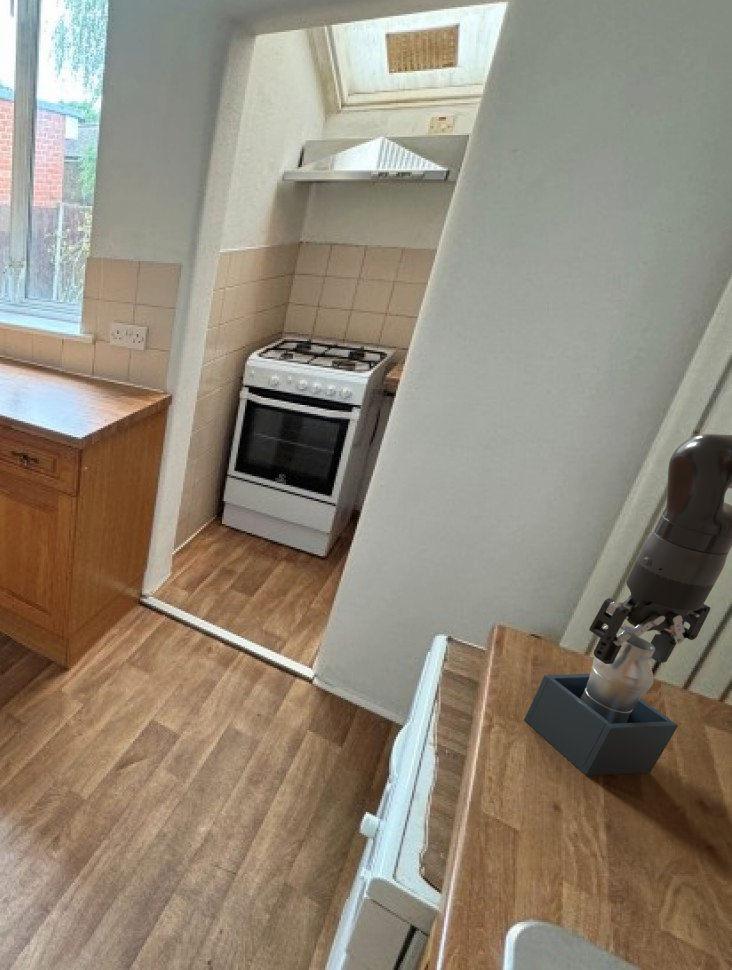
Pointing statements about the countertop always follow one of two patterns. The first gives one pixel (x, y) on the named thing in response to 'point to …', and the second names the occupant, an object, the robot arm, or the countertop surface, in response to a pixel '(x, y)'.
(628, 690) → the plastic bottle
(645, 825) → the countertop surface
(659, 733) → the bin
